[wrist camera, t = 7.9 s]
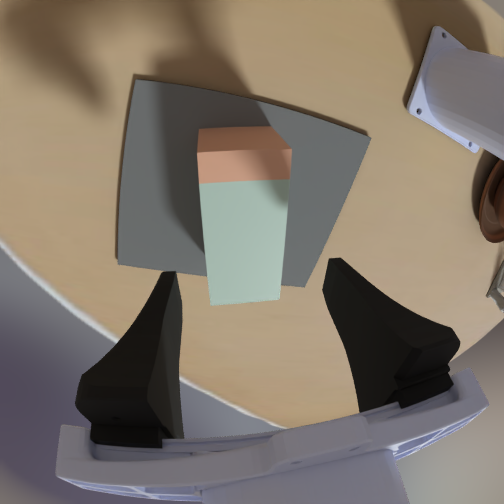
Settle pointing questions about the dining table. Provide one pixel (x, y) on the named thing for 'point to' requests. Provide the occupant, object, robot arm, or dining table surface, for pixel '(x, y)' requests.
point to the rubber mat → (187, 179)
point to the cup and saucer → (493, 205)
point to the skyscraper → (498, 289)
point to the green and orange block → (243, 211)
